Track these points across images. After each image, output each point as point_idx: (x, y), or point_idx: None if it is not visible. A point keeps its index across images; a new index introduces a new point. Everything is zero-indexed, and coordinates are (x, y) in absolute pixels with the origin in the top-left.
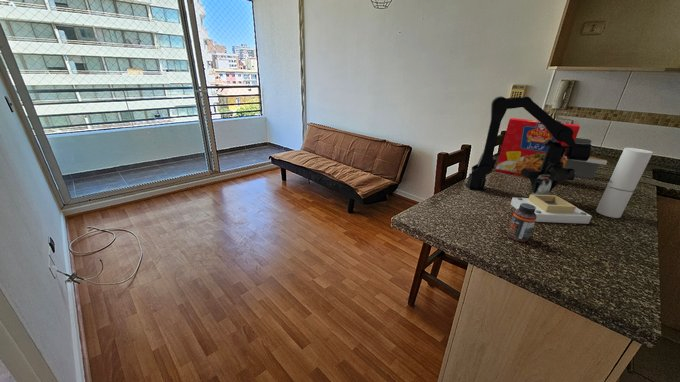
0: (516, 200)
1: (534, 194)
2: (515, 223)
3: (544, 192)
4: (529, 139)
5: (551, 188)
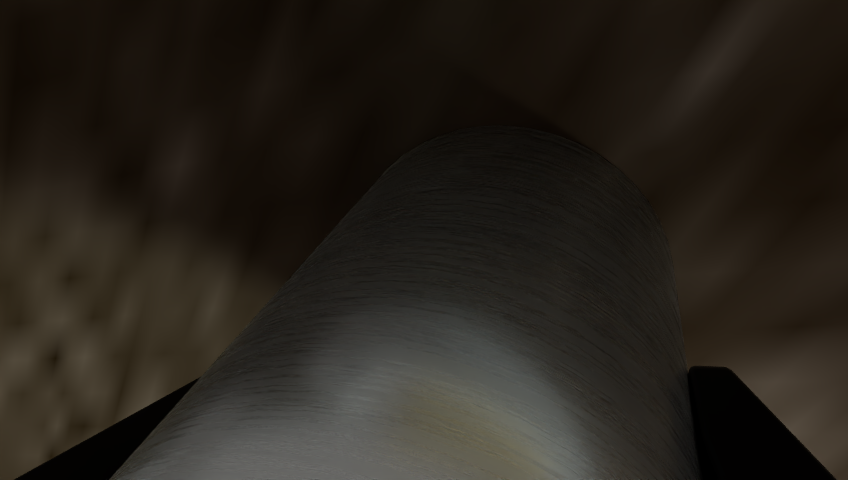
0: None
1: (682, 339)
2: None
3: (452, 262)
4: None
5: (105, 461)
